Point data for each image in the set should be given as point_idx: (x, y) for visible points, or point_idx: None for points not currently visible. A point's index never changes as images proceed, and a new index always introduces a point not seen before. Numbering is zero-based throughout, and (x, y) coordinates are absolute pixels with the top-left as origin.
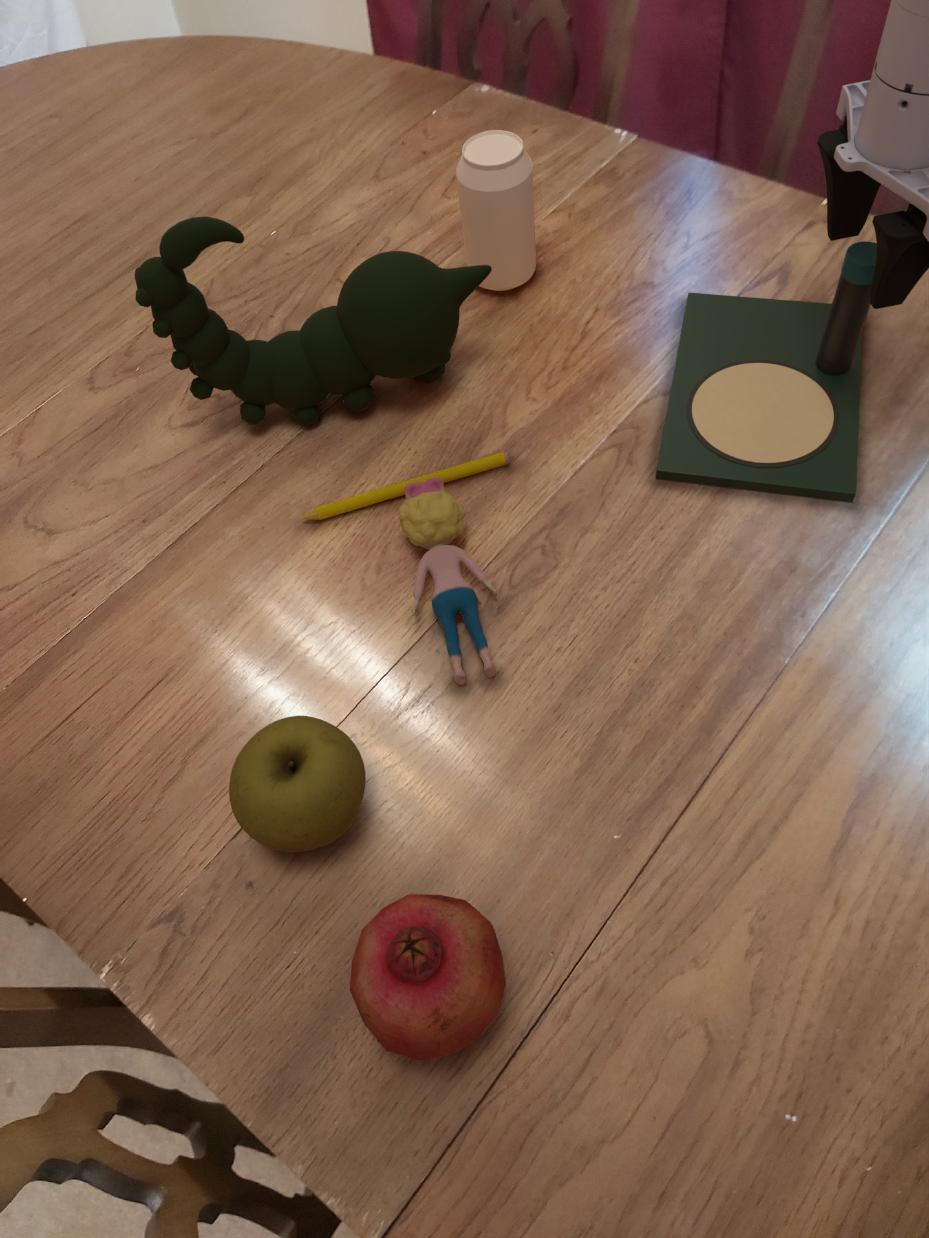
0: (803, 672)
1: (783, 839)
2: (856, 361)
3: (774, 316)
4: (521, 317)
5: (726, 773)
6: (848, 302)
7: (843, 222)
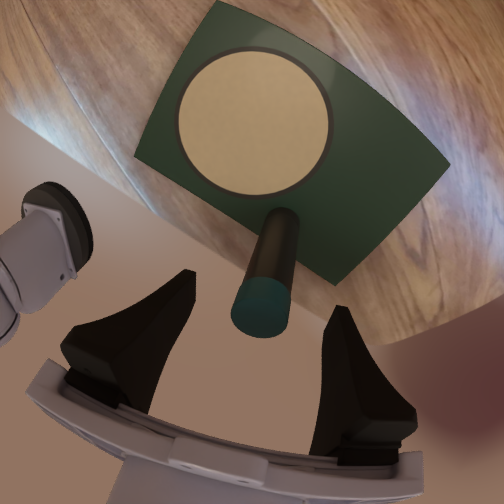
0: (50, 75)
1: (9, 52)
2: None
3: (372, 215)
4: (491, 21)
5: (28, 29)
6: (253, 261)
7: (333, 333)
